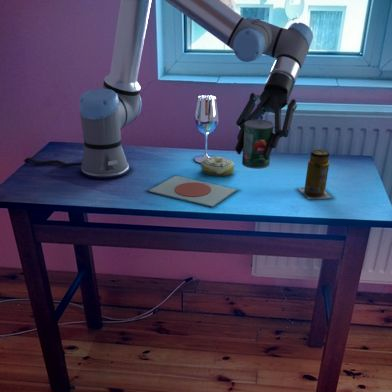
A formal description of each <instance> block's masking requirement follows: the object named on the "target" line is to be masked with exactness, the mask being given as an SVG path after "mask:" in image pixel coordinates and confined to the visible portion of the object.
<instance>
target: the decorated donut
mask: <svg viewBox="0 0 392 392" xmlns="http://www.w3.org/2000/svg"><path fill="white" fill-rule="evenodd" d="M200 167H201V170H202V172H203V173H204V174H206V175H208V176H214V177H215V176H216V177H224V176H228V175H232V174H233V172H234V169H235V167H236V165H235V163H234V162H233V161H232V160H231V159H230V158H226V157H222V156H212V157H209V158H206V159H204V160H202V161H201V163H200Z"/></svg>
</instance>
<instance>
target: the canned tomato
mask: <svg viewBox="0 0 392 392" xmlns="http://www.w3.org/2000/svg"><path fill="white" fill-rule="evenodd" d="M274 127H275V123H273V122H272V121H271V120H266V119H258V120H249V121H246V122H245V129H244V142H243V149H242V157H241V159H242V161H241V164H242V166H243V167H246V168H249V169H255V170H259V169H261V170H262V169H266V168H268V167H270V164H271V163H270V161H271V155H270V156H269V158H268V160H265V158H264V156H263V153H264V150H265V148H266V145H267V143H268V141H269V138H270V136H271V133H274Z"/></svg>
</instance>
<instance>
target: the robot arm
mask: <svg viewBox="0 0 392 392" xmlns="http://www.w3.org/2000/svg"><path fill="white" fill-rule="evenodd" d="M164 1H165V2H166V3H167V4H169V5H171V6H172V7H173V8H175V9H176V10H177V11H179V12H180V13H182V14H183V15H184V16H186V17H187V18H189V19H190V20H191V21H193V22H194V23H195V24H197V25H198V26H200V27H201V28H202V29H204V30H205V31H207V32H208V33H209V34H210V35H212V36H213V37H215V39H217V40H219V41H220V42H221V43H223V44H224V45H226V47H228V48H230V49H231V50H232V51H233V53H234V55H235V57H236V58H237V59H238V60H240V61H241V62H244V63H250V62H254V61H256V60H258V59H259V58H260V57H262V55H265V56H268V57H271V58H273V59H275V60H274V63H273V65H272V67H271V70H270V72H269V75H268V77H267V79H266V82H265V84H264V87H263V91H262V92H260V94H255V93H254V92H252V93H250V95H249V99H248V101H247V103H246V105H245V107H244V108H243V110H242V112H241V113H240V115H239V117H238V118H237V120H236V122H235V124H236V125H237V128H238V129H239V131H238V134H237V136H236V139H237V143H236V146H235V148H234V150H235V152H236V154H237V155H241V154H242V152H243V142H244V129H245V122H246V121H249V120H260V117H262V115H265V113H272V114H274V129H273V133H271V136H270V138H269V141H268V143H267V145H266V148H265V150H264V153H263V156H264V158H265V160H268V158H269V156H270V157H271V154H272V151H273V149H276V148H277V146H278V144H279V141H280V139H281V138H288V136H289V133H290V129H291V125H292V120H293V116H294V112H295V111H296V109H297V108H298V104H297V101H296V99H295V98H292V99H290V97H291V94H292V92H293V90H294V87H295V84H296V82H297V80H298V77H299V75H300V72H301V69H302V67H303V65H304V62H305V60H306V58H307V55H308V53H309V51H310V47H311V45H312V42H313V38H314V35H313V34H314V33H313V31H312V29H311V27H310V26H308V25H307V24H306V23H303V22H293V23H291V24H290V25H289V26H288V27H287V28H285V27H281V26H278V25H276V24H272V23H270V22H267V21H264V20H261V19H260V18H255V17H251V16H247V17H243V16H242V15H241V14H240V13H238V11H237V12H236V11H235V10H234V9H233V8H231V7H230V6H228V4H226V3H225V2H223V1H222V0H164ZM151 5H152V0H120V3H119V10H118V17H117V23H116V31H115V37H114V43H113V51H112V58H111V64H110V70H109V74H107V75H106V76H105V77H104V78H103V85H102V88H95V89H90V90H88V91H85V92H83V93H82V94H81V96H80V97H79V107H78V109H79V114H80V120H81V121H80V122H81V129H82V138H83V144H84V145H83V146H84V149H83V154H82V160H81V162H80V161H79V162H64V161H62V160H57V159H51V160H36V159H34V158H33V157H26V158H25V159H24V160H23V163H27V162H32V163H33V164H36V165H48V164H59V165H62V166H64V167H75V166H77V167H78V166H80V170H81V174H82V175H83V176H85V177H86V178H90V179H96V180H109V179H111V180H112V179H116V178H120V177H123V176H125V175H127V174H128V173H129V172H130V164H129V161H128V160H127V157H126V154H125V150H124V149H123V146H122V134H121V133H122V132H121V130H122V129H124V128H125V127H126V126H129V125H130V124H132V123H134V122H135V120H136V119H137V118H138V116H140V113H141V110H142V105H143V103H142V97H141V96H140V93H141V85H140V84H139V82H138V77H139V71H140V67H141V66H140V65H141V60H142V55H143V49H144V44H145V39H146V33H147V28H148V21H149V17H150V12H151V11H150V10H151ZM285 107H287V108H286V111H285V116H284V120H283V124H282V110H283V108H285Z"/></svg>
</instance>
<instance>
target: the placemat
mask: <svg viewBox="0 0 392 392" xmlns="http://www.w3.org/2000/svg"><path fill="white" fill-rule="evenodd" d="M147 191H148V192H149V193H153V194H157V195H160V196H164V197H169V198H173V199H176V200H181V201H185V202H189V203H193V204H198V205H201V206H206V207H209V208H213V207H214V206H216V205H217V204H219V203H221V202H222V201H224V200H225V199H227V198H228V197H230V196H231V195H233V194H234V193H236V192H237V191H238V189H237V188H233V187H229V186H225V185H220V184H216V183H210V182H206V181H201V180H198V179H194V178H189V177H184V176H180V175H174V176H172V177H171V178H169V179H167V180H165V181H163V182H161V183H159V184H158V185H156V186H153V187H152V188H150V189H148V190H147Z"/></svg>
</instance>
